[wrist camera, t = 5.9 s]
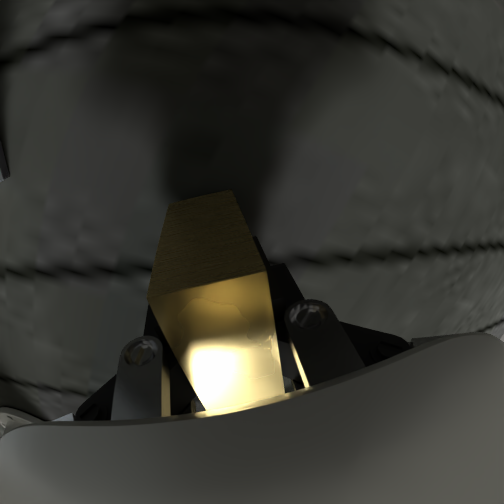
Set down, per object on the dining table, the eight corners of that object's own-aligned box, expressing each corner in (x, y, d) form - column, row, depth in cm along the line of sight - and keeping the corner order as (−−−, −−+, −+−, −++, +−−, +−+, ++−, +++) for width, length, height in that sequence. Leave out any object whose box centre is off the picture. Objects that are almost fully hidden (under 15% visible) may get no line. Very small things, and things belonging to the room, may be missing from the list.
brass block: (254, 307, 14) (287, 411, 9) (205, 318, 14) (217, 426, 8) (231, 189, 11) (267, 270, 6) (169, 203, 11) (146, 297, 5)
